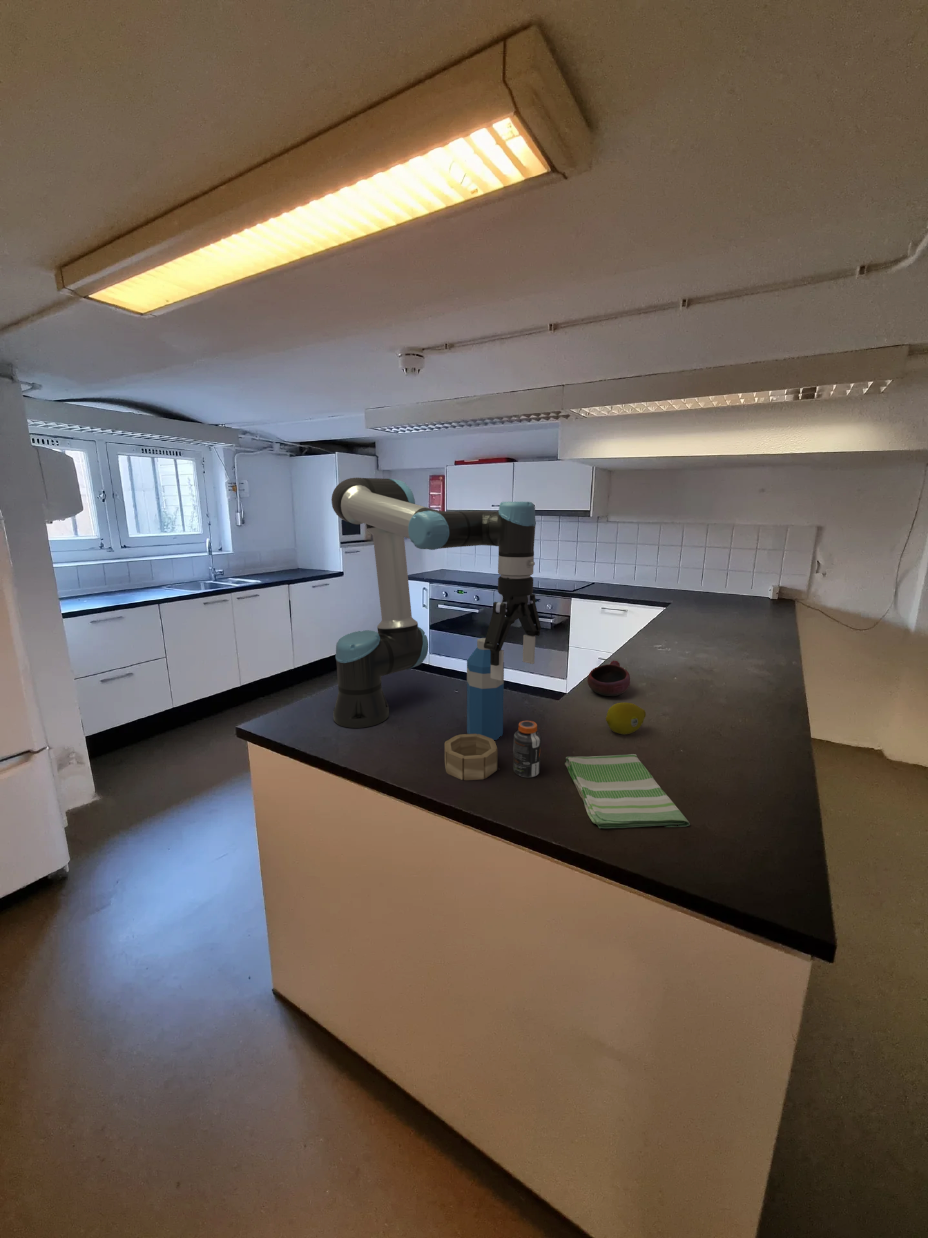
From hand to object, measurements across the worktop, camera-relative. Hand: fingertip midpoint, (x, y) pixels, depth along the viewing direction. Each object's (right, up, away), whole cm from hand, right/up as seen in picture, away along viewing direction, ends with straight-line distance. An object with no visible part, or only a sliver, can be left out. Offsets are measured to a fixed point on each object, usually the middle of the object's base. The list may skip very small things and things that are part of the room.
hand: (513, 670), depth 108 cm
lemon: (+31, -18, +18) cm, 40 cm away
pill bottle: (+3, -22, -1) cm, 23 cm away
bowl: (+34, -12, +45) cm, 57 cm away
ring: (-10, -22, +1) cm, 24 cm away
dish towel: (+21, -25, -8) cm, 33 cm away
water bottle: (-6, -18, +17) cm, 26 cm away
